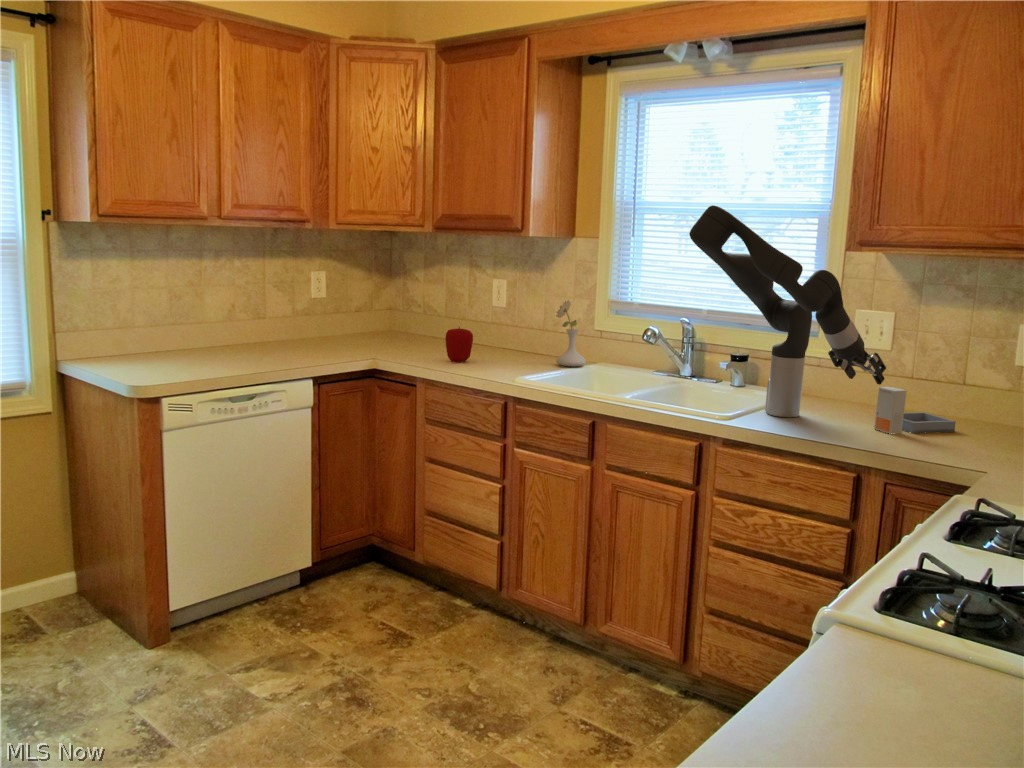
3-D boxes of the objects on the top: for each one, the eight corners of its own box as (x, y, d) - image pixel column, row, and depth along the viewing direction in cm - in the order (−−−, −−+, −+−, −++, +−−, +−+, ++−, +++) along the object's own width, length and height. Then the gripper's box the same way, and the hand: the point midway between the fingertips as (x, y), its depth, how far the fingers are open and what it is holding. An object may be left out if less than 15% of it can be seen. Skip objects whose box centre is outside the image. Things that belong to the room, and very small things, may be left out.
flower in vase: (572, 362, 340) (575, 298, 336) (592, 367, 332) (595, 300, 327) (546, 365, 332) (549, 299, 328) (566, 369, 324) (569, 301, 319)
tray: (882, 423, 249) (883, 413, 249) (922, 422, 253) (924, 412, 253) (912, 433, 238) (913, 422, 237) (954, 431, 242) (955, 421, 241)
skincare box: (873, 429, 241) (878, 386, 239) (885, 428, 243) (890, 386, 241) (890, 434, 236) (895, 390, 234) (902, 433, 237) (907, 390, 235)
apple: (474, 363, 329) (475, 327, 327) (447, 363, 327) (448, 327, 324) (469, 359, 339) (470, 324, 337) (443, 359, 337) (443, 324, 334)
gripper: (812, 343, 227) (836, 385, 235) (859, 351, 216) (883, 394, 224) (828, 323, 229) (851, 364, 237) (875, 329, 217) (898, 373, 225)
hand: (866, 379), depth 230 cm, fingers open, 8 cm apart
